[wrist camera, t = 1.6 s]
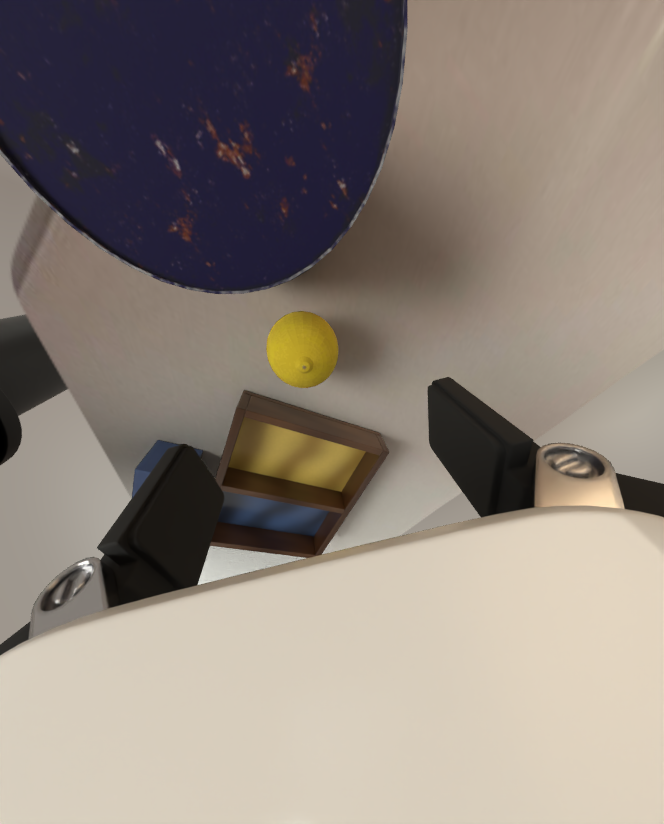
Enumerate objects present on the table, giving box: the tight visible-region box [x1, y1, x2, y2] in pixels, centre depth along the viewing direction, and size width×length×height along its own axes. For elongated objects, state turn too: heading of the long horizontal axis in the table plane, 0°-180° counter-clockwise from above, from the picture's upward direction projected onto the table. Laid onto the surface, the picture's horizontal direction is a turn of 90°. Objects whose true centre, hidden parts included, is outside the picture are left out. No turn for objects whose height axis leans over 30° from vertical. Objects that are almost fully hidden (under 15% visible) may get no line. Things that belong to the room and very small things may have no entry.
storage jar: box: [0, 0, 407, 294], centre depth 12 cm, size 10×10×15 cm
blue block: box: [132, 440, 203, 498], centre depth 26 cm, size 4×4×4 cm
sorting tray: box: [210, 390, 389, 558], centre depth 30 cm, size 16×20×4 cm
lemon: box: [266, 311, 338, 388], centre depth 20 cm, size 6×6×8 cm
